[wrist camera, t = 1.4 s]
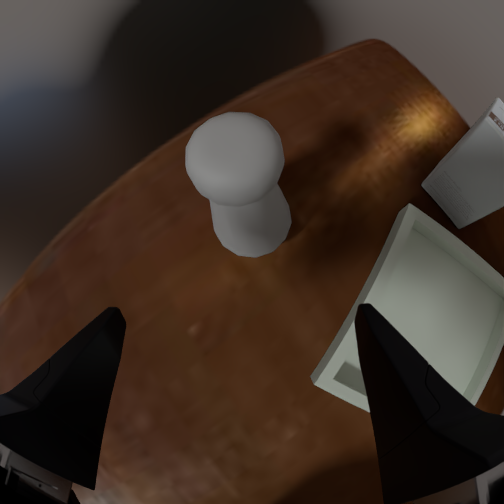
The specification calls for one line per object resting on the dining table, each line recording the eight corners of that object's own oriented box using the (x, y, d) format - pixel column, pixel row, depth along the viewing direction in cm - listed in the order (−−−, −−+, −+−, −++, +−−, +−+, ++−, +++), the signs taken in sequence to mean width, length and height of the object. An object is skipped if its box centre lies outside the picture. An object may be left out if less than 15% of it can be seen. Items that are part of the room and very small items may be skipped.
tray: (438, 436, 18) (450, 445, 16) (310, 376, 21) (314, 384, 19) (505, 295, 20) (519, 293, 18) (398, 211, 23) (409, 203, 20)
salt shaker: (276, 186, 24) (275, 78, 11) (299, 248, 23) (328, 181, 10) (211, 207, 24) (153, 117, 11) (230, 271, 23) (177, 230, 10)
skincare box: (473, 204, 22) (549, 156, 10) (456, 232, 22) (542, 189, 10) (435, 161, 23) (499, 93, 12) (415, 186, 23) (486, 116, 11)
